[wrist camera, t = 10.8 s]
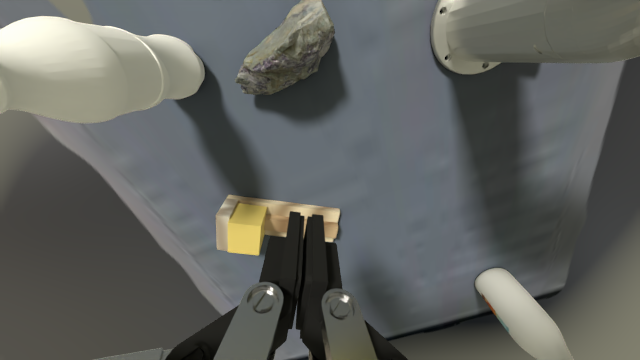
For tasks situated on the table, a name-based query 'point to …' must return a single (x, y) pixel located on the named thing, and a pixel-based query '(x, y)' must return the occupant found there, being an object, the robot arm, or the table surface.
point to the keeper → (246, 229)
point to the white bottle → (91, 70)
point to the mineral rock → (288, 50)
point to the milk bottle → (522, 315)
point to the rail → (288, 208)
